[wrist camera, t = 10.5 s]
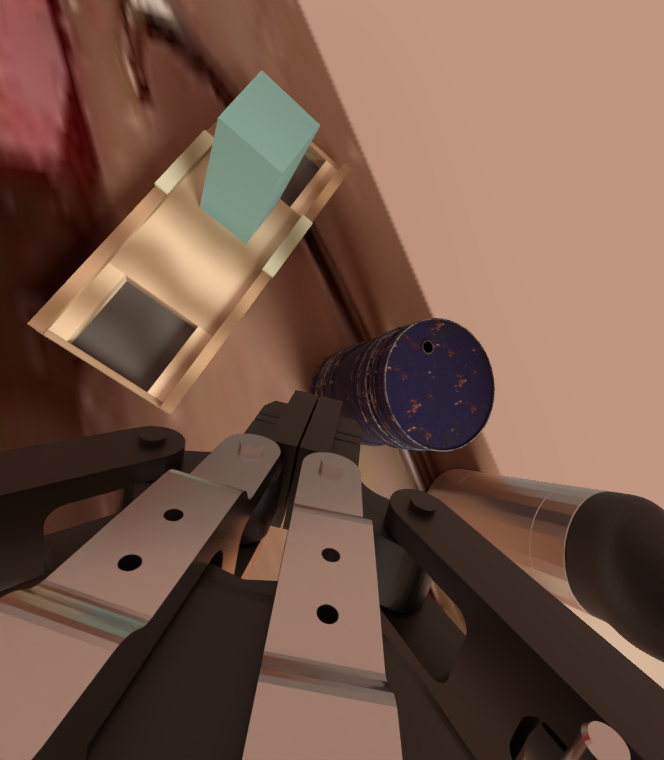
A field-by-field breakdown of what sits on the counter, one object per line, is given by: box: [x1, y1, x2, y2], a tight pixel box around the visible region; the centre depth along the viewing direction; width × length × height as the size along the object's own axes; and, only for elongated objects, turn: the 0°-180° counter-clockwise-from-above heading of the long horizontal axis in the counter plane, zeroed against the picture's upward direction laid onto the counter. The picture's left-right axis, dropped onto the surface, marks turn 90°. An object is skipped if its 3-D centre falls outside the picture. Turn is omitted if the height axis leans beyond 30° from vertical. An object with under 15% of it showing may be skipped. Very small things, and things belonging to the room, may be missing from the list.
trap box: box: [27, 119, 351, 415], centre depth 38 cm, size 30×12×3 cm, turn 147°
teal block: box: [200, 70, 320, 244], centre depth 33 cm, size 5×5×12 cm
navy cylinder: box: [310, 318, 495, 452], centre depth 37 cm, size 10×10×15 cm
